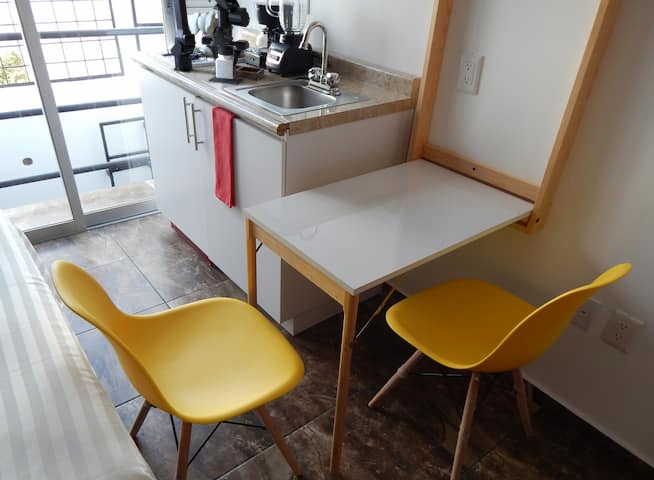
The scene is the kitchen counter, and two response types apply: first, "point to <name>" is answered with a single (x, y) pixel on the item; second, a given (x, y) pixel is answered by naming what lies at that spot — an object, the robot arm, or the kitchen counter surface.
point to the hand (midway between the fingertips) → (225, 64)
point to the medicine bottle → (225, 63)
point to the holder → (248, 72)
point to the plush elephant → (206, 30)
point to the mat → (226, 80)
